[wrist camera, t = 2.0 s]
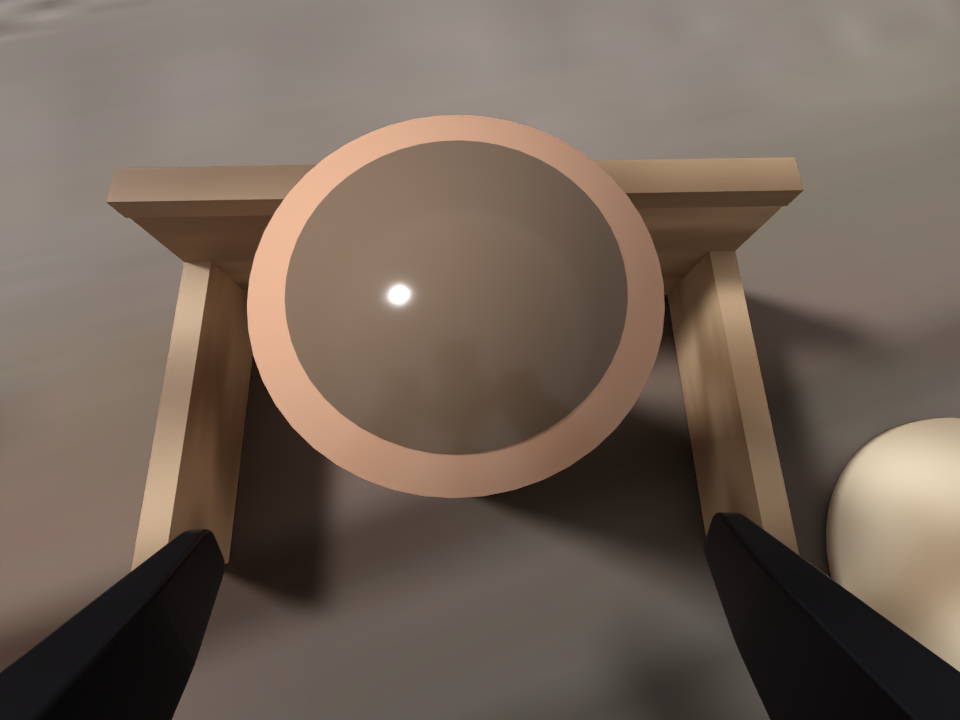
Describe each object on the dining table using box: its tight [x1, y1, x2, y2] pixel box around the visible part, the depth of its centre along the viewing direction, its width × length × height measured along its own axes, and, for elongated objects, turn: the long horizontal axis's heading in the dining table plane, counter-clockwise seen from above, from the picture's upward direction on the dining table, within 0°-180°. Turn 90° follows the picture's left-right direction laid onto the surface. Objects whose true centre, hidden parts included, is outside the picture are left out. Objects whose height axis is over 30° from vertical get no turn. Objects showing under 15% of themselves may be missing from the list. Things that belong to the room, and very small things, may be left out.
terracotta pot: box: [247, 115, 665, 498], centre depth 13 cm, size 7×7×13 cm
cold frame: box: [106, 157, 803, 571], centre depth 16 cm, size 12×21×8 cm, turn 92°
